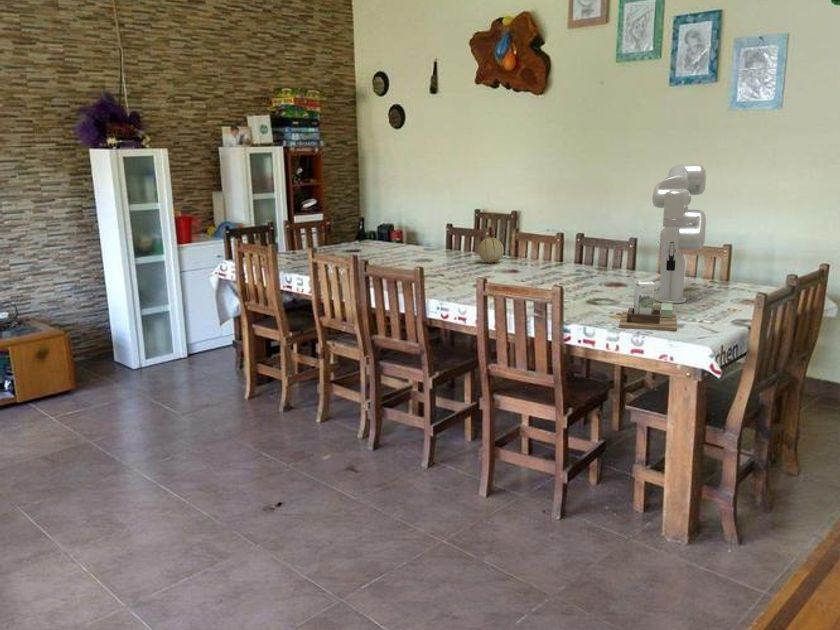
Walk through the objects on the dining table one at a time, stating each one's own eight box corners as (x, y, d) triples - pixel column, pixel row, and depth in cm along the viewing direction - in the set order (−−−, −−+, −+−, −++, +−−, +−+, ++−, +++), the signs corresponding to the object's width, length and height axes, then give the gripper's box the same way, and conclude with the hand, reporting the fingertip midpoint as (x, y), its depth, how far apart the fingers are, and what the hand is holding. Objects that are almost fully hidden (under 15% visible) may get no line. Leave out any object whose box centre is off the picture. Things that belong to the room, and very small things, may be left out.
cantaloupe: (493, 265, 405) (493, 239, 402) (472, 263, 415) (472, 237, 412) (509, 262, 416) (509, 236, 413) (488, 260, 426) (488, 234, 422)
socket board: (622, 314, 288) (623, 304, 287) (676, 317, 281) (676, 306, 280) (619, 327, 267) (619, 316, 266) (676, 331, 261) (677, 319, 260)
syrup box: (648, 317, 277) (650, 280, 273) (652, 321, 271) (654, 283, 267) (633, 317, 277) (634, 280, 273) (637, 321, 271) (639, 283, 268)
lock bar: (661, 309, 287) (661, 302, 287) (672, 310, 286) (672, 302, 286) (660, 317, 275) (661, 309, 275) (672, 317, 274) (672, 310, 274)
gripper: (663, 220, 290) (660, 266, 294) (662, 225, 275) (660, 273, 280) (683, 220, 288) (680, 266, 292) (683, 225, 273) (680, 273, 277)
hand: (670, 269), depth 286 cm, fingers closed
